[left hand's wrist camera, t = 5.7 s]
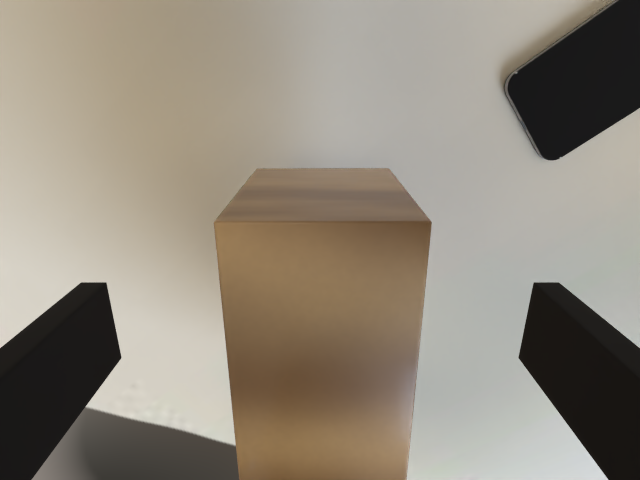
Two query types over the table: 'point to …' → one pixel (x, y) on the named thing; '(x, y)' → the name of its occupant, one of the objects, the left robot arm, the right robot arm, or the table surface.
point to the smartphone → (580, 81)
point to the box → (322, 321)
